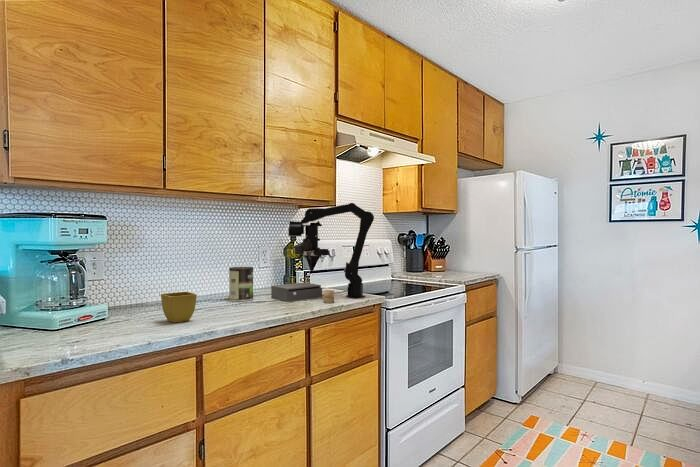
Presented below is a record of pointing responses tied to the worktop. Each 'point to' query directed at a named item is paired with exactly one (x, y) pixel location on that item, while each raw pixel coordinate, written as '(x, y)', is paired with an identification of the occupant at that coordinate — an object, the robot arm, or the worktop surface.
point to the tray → (304, 294)
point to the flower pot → (178, 306)
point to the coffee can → (240, 284)
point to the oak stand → (328, 296)
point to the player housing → (281, 290)
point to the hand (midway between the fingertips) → (311, 270)
